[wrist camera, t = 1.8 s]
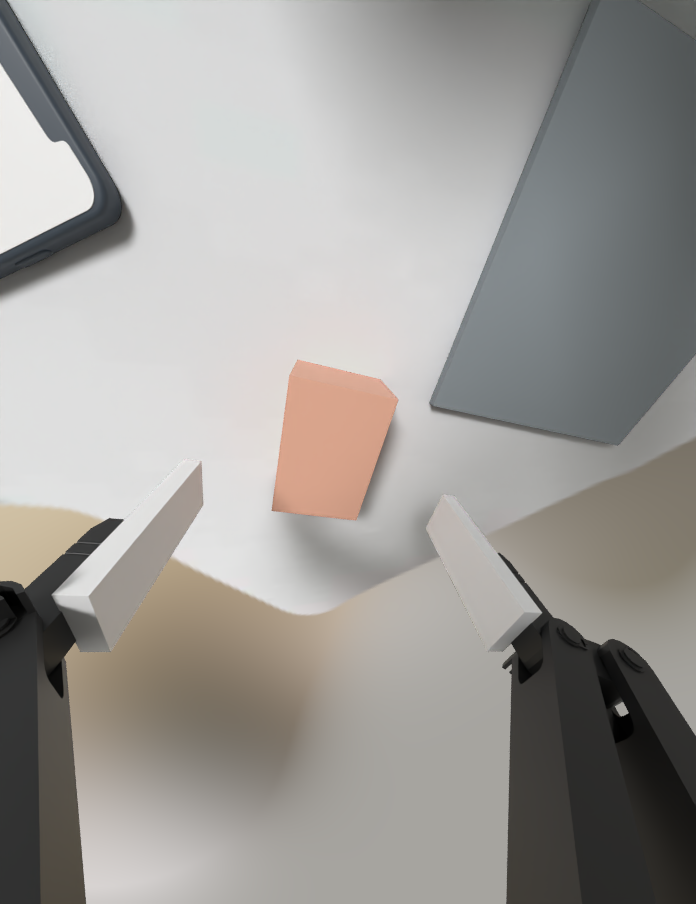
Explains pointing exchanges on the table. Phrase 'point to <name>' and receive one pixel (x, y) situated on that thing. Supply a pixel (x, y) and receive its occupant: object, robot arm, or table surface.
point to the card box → (330, 440)
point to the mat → (592, 244)
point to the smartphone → (43, 161)
